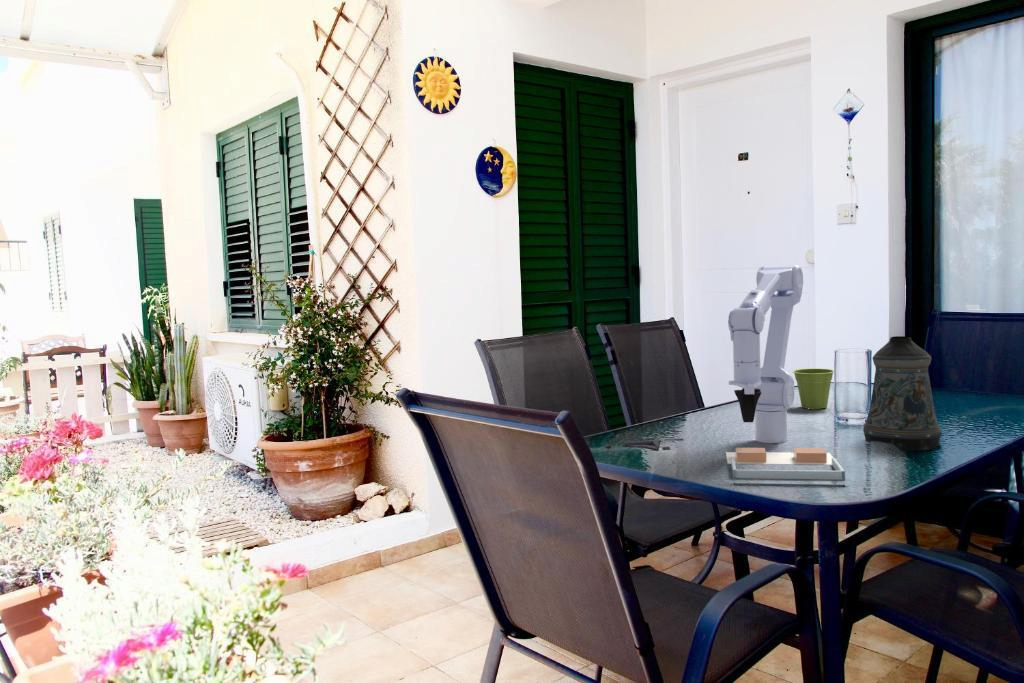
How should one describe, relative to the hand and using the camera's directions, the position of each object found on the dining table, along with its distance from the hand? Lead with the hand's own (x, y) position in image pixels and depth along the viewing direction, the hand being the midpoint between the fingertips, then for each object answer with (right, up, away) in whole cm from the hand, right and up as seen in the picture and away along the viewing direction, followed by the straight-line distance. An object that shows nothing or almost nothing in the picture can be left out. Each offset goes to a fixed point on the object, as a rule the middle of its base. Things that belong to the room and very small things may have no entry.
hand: (748, 421), depth 178 cm
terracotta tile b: (+10, -7, -9) cm, 16 cm away
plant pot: (+38, -2, +62) cm, 73 cm away
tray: (+2, -10, -17) cm, 20 cm away
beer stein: (+39, -6, +11) cm, 41 cm away
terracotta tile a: (-1, -7, -6) cm, 10 cm away
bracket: (-17, -9, +14) cm, 24 cm away
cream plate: (+5, -9, -6) cm, 12 cm away
